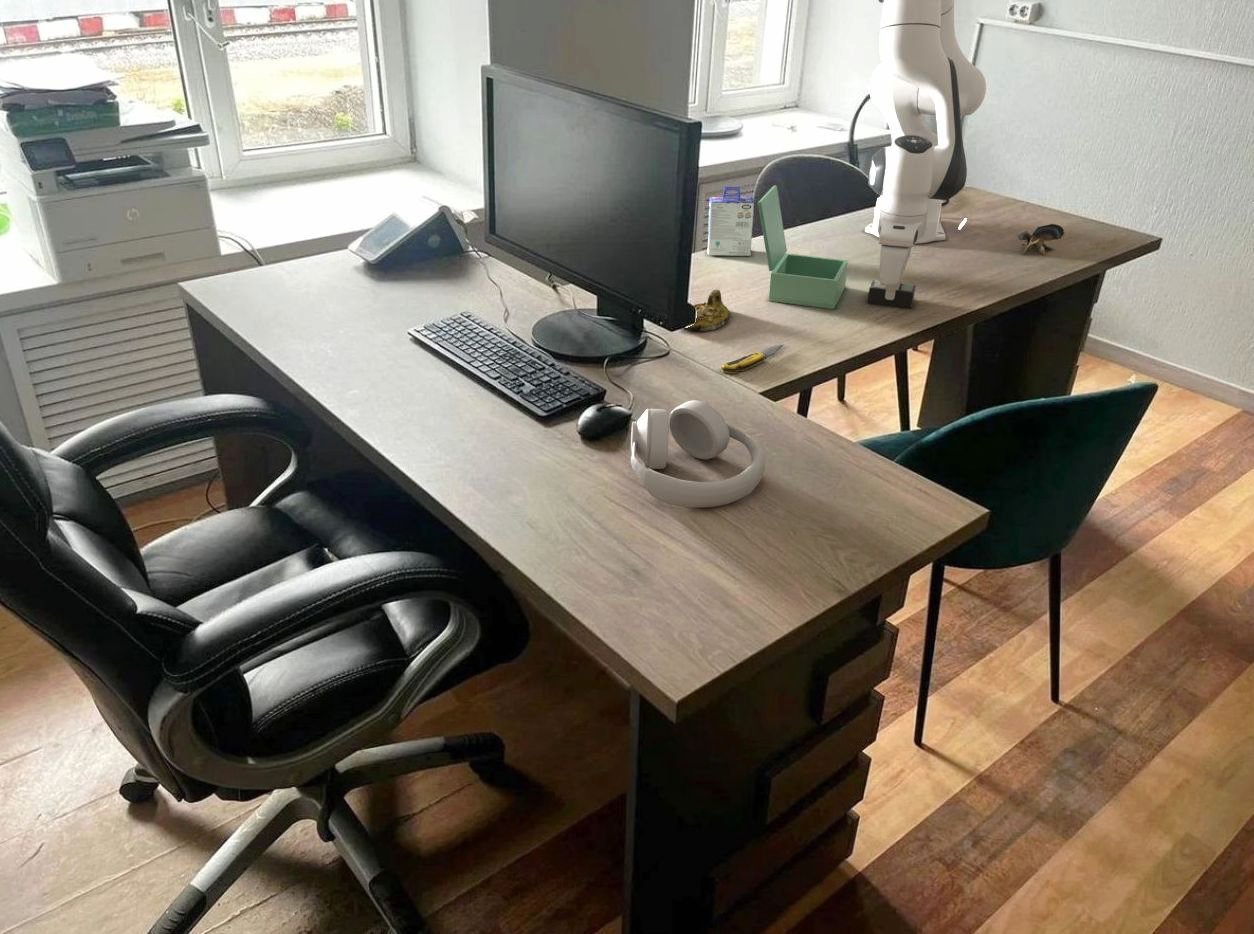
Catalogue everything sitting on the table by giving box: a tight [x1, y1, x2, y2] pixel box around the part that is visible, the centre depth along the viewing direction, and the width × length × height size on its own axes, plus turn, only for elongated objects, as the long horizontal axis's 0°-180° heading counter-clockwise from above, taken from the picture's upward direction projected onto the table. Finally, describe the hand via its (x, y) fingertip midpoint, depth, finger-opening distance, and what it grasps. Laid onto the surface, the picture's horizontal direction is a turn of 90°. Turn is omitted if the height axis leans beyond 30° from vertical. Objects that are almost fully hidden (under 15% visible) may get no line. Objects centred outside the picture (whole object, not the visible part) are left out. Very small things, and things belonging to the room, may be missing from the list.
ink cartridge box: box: [706, 186, 755, 257], centre depth 224 cm, size 10×6×14 cm, turn 89°
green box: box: [768, 252, 849, 310], centre depth 203 cm, size 13×14×6 cm
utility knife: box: [721, 343, 785, 374], centre depth 175 cm, size 16×1×3 cm
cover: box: [757, 185, 788, 272], centre depth 200 cm, size 14×14×1 cm
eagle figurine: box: [1016, 223, 1065, 256], centre depth 228 cm, size 8×7×9 cm
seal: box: [682, 289, 731, 332], centre depth 190 cm, size 9×5×15 cm
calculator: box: [867, 279, 917, 309], centre depth 200 cm, size 8×5×3 cm, turn 70°
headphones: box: [630, 399, 766, 509], centre depth 139 cm, size 18×8×20 cm
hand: (891, 293), depth 200 cm, fingers closed on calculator, 5 cm apart
